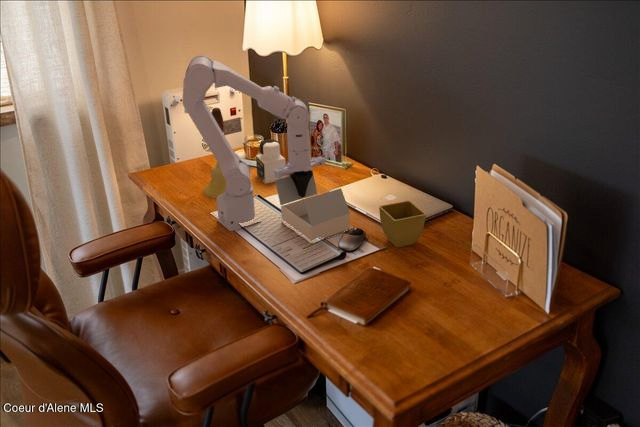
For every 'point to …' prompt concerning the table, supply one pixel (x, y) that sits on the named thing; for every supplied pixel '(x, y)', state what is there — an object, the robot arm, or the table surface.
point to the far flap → (293, 190)
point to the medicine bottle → (269, 160)
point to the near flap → (326, 206)
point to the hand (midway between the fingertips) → (301, 195)
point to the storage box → (300, 221)
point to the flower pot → (402, 222)
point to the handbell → (216, 167)
